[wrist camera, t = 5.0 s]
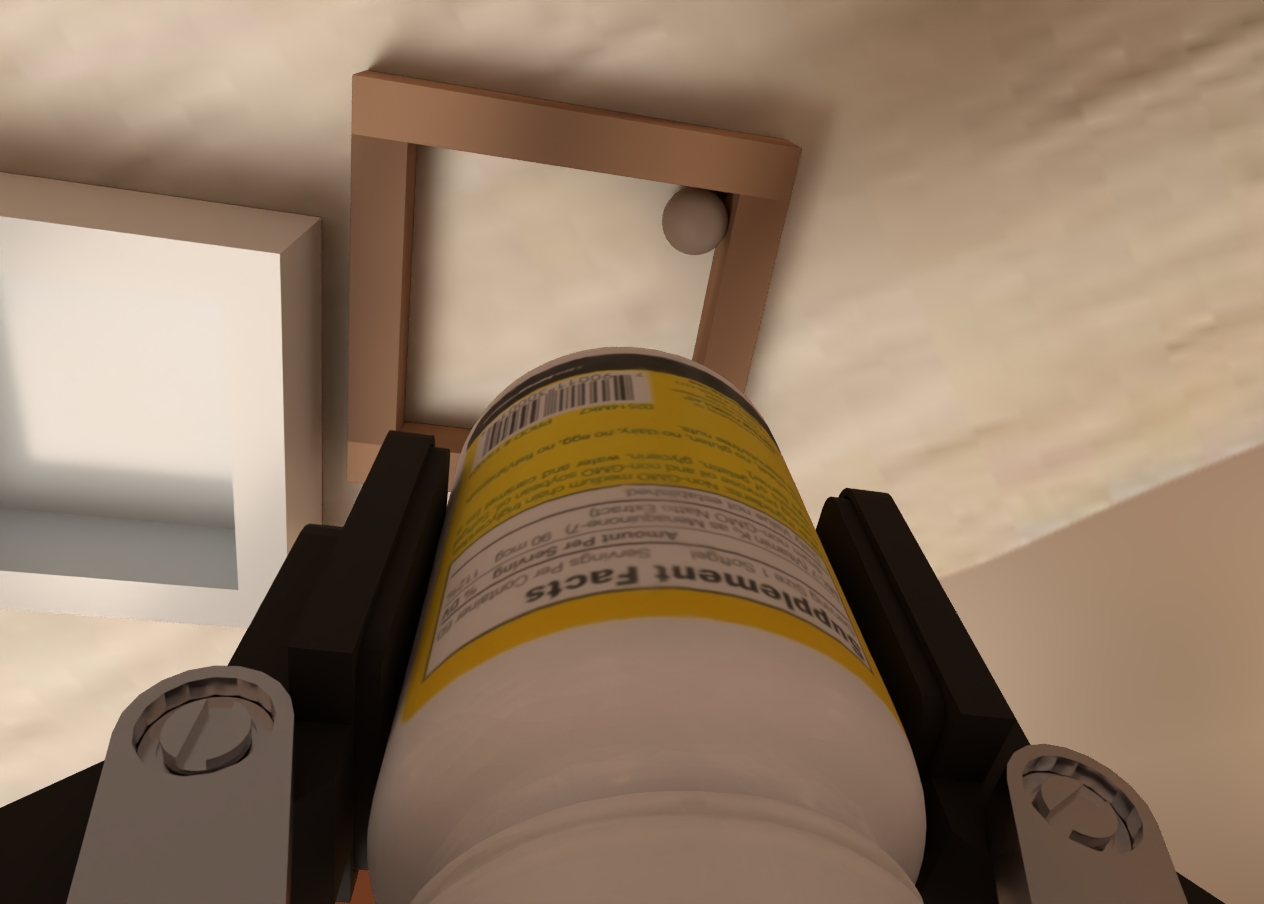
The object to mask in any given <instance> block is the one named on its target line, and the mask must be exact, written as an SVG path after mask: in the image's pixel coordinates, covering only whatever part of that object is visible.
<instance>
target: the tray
mask: <svg viewBox="0 0 1264 904" xmlns="http://www.w3.org/2000/svg"><path fill="white" fill-rule="evenodd" d="M417 144H420V145H427V146H433V147H440V148H446V149H453V150H459V151H465V152H472V153H478V154H485V155H491V156H497V157H504V158H510V159H517V160H523V161H530V162H536V163H542V164H549V165H555V166H562V167H568V168H575V169H581V170H587V171H594V172H600V173H607V174H613V175H619V176H626V177H632V178H639V179H645V180H652V181H658V182H664V183H671V184H677V185H684V186H690V188H686V189H683V190H681V191H679V192H678V193H676V194H675V195H674V196H673V197H672V198H671V199H670V200H669V202H668V203H667V205H666V207H665V209H664V212H663V217H662V225H663V231H664V234H665V236H666V238H667V240H668V241H669V243H670V244H671V245H672V246H673V247H674V248H675V249H677V250H678V251H680V252H683V253H685V254H690V255H699V254H704V253H707V252H709V251H711V250H712V249H714V248H715V252H714V257H713V262H712V267H711V272H710V277H709V281H708V286H707V291H706V296H705V301H704V306H703V311H702V315H701V320H700V325H699V330H698V335H697V340H696V345H695V349H694V354H693V359H692V361H695V362H697V363H699V364H701V365H703V366H705V367H707V368H709V369H711V370H712V371H714V372H716V373H717V374H719V375H720V376H722V377H723V378H725V379H726V380H727V381H729V382H730V383H732V384H733V385H734V386H735V387H736V388H737V389H738V390H739V391H740V392H742V393H743V394H744V389H745V385H746V381H747V377H748V373H749V369H750V364H751V360H752V356H753V352H754V348H755V343H756V339H757V335H758V331H759V327H760V323H761V318H762V314H763V310H764V306H765V302H766V297H767V293H768V289H769V285H770V281H771V277H772V272H773V268H774V264H775V260H776V256H777V251H778V247H779V243H780V239H781V235H782V231H783V226H784V222H785V218H786V214H787V210H788V205H789V201H790V197H791V193H792V189H793V185H794V180H795V176H796V172H797V168H798V164H799V159H800V155H801V151H802V149H801V148H800V147H798V146H796V145H794V144H793V143H791V142H789V141H788V140H784V139H778V138H772V137H766V136H760V135H754V134H748V133H742V132H736V131H730V130H724V129H718V128H712V127H706V126H700V125H694V124H688V123H682V122H675V121H669V120H663V119H657V118H651V117H645V116H639V115H633V114H627V113H621V112H615V111H609V110H603V109H597V108H591V107H585V106H579V105H573V104H567V103H561V102H555V101H549V100H543V99H537V98H531V97H525V96H519V95H513V94H507V93H501V92H495V91H489V90H483V89H477V88H471V87H465V86H459V85H453V84H447V83H441V82H435V81H429V80H423V79H417V78H411V77H405V76H399V75H393V74H386V73H380V72H374V71H368V70H366V71H362V72H359V73H356V74H353V75H352V138H351V212H350V286H349V361H348V435H347V482H356V483H364V482H365V480H366V478H367V476H368V474H369V472H370V469H371V467H372V465H373V463H374V461H375V459H376V457H377V455H378V452H379V450H380V448H381V446H382V444H383V442H384V440H385V437H386V435H387V433H388V432H389V430H394V431H402V432H410V433H418V434H426V435H434V437H435V447H439V448H447V449H450V467H449V481H448V492H451V490H452V485H453V481H454V477H455V473H456V468H457V464H458V461H459V458H460V455H461V451H462V449H463V446H464V444H465V442H466V440H467V438H468V436H469V434H470V432H471V430H472V429H464V428H455V427H446V426H437V425H428V424H419V423H410V422H404V416H405V394H406V373H407V351H408V329H409V308H410V286H411V264H412V243H413V221H414V200H415V178H416V156H417ZM708 189H709V190H708ZM710 190H716V191H722V192H727V194H726V199H725V204H724V203H723V202H722V200H721V199H720V198H719V197H718V196H717V195H716V194H715V193H714V192H712V191H710Z"/></svg>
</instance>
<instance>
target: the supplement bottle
mask: <svg viewBox="0 0 1264 904" xmlns="http://www.w3.org/2000/svg"><path fill="white" fill-rule="evenodd" d="M925 839H926V812H925V802H924V793H923V788H922V784H921V781H920V777H919V773H918V769H917V766H916V763H915V759H914V756H913V753H912V749H911V746H910V743H909V741H908V738H907V736H906V733H905V731H904V728H903V726H902V723H901V721H900V719H899V716H898V714H897V712H896V709H895V707H894V705H893V703H892V700H891V698H890V696H889V693H888V691H887V689H886V687H885V685H884V682H883V680H882V678H881V676H880V673H879V671H878V669H877V667H876V665H875V663H874V660H873V658H872V656H871V654H870V652H869V650H868V647H867V645H866V643H865V641H864V639H863V636H862V634H861V632H860V630H859V627H858V625H857V623H856V621H855V618H854V616H853V614H852V612H851V609H850V607H849V605H848V603H847V600H846V598H845V596H844V593H843V591H842V589H841V587H840V584H839V582H838V580H837V578H836V575H835V573H834V571H833V569H832V566H831V564H830V562H829V560H828V557H827V555H826V553H825V550H824V548H823V546H822V544H821V541H820V539H819V537H818V535H817V532H816V530H815V528H814V526H813V524H812V521H811V519H810V517H809V515H808V512H807V510H806V508H805V506H804V503H803V501H802V499H801V496H800V494H799V492H798V490H797V487H796V485H795V483H794V481H793V479H792V476H791V474H790V472H789V470H788V468H787V465H786V463H785V461H784V459H783V456H782V455H781V452H780V450H779V447H778V445H777V443H776V441H775V439H774V437H773V435H772V433H771V431H770V429H769V427H768V426H767V424H766V422H765V421H764V419H763V418H762V416H761V414H760V413H759V412H758V411H757V409H756V408H755V407H754V405H753V404H752V403H751V402H750V401H749V399H748V398H747V397H746V396H745V395H744V394H743V393H742V392H740V391H739V390H738V389H737V388H736V387H735V386H734V385H733V384H732V383H730V382H729V381H727V380H726V379H725V378H723V377H722V376H720V375H719V374H717V373H716V372H714V371H712V370H711V369H709V368H707V367H705V366H703V365H701V364H699V363H697V362H695V361H692V360H689V359H687V358H684V357H681V356H678V355H674V354H670V353H666V352H662V351H658V350H652V349H645V348H634V347H603V348H597V349H590V350H585V351H580V352H576V353H572V354H569V355H566V356H563V357H560V358H557V359H554V360H552V361H549V362H547V363H545V364H543V365H541V366H539V367H537V368H535V369H533V370H531V371H530V372H528V373H526V374H525V375H523V376H522V377H520V378H519V379H517V380H516V381H514V382H513V383H512V384H511V385H509V386H508V387H507V388H506V389H505V390H504V391H503V392H501V393H500V394H499V395H498V396H497V397H496V398H495V399H494V400H493V401H492V402H491V404H490V405H489V406H488V407H487V408H486V409H485V411H484V412H483V413H482V415H481V416H480V418H479V419H478V420H477V422H476V423H475V425H474V426H473V428H472V430H471V432H470V434H469V436H468V438H467V440H466V442H465V444H464V446H463V449H462V451H461V455H460V458H459V461H458V464H457V468H456V473H455V477H454V481H453V485H452V490H451V493H450V497H449V501H448V504H447V510H446V514H445V518H444V522H443V526H442V530H441V533H440V537H439V541H438V545H437V549H436V553H435V558H434V562H433V567H432V571H431V575H430V579H429V583H428V586H427V590H426V594H425V598H424V602H423V607H422V611H421V615H420V619H419V623H418V627H417V631H416V635H415V639H414V643H413V646H412V650H411V654H410V658H409V661H408V665H407V669H406V673H405V677H404V681H403V684H402V688H401V692H400V696H399V700H398V704H397V708H396V712H395V715H394V719H393V723H392V727H391V731H390V735H389V738H388V742H387V746H386V750H385V754H384V758H383V762H382V765H381V769H380V773H379V777H378V781H377V784H376V788H375V792H374V796H373V801H372V807H371V812H370V818H369V824H368V832H367V863H368V871H369V876H370V882H371V887H372V892H373V895H374V899H375V902H376V904H924V903H923V900H922V897H921V895H920V894H919V892H918V890H917V889H916V887H915V884H916V881H917V878H918V875H919V872H920V868H921V864H922V860H923V855H924V848H925Z"/></svg>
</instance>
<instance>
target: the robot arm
mask: <svg viewBox="0 0 1264 904" xmlns="http://www.w3.org/2000/svg"><path fill="white" fill-rule="evenodd" d="M449 467H450V449H447V448H439V447H435V437H434V435H426V434H418V433H410V432H402V431H394V430H389V432H388V433H387V435H386V437H385V440H384V442H383V444H382V446H381V448H380V450H379V452H378V455H377V457H376V459H375V461H374V463H373V465H372V467H371V469H370V472H369V474H368V476H367V478H366V480H365V482H364V484H363V487H362V489H361V491H360V493H359V495H358V497H357V499H356V501H355V504H354V506H353V508H352V510H351V512H350V514H349V516H348V519H347V521H346V523H345V525H344V527H337V526H328V525H319V524H311V523H309V524H307V525H305V526H304V528H303V529H302V530H301V532H300V533H299V535H298V537H297V539H296V541H295V542H294V544H293V546H292V548H291V550H290V552H289V554H288V555H287V557H286V559H285V561H284V563H283V565H282V566H281V568H280V570H279V572H278V574H277V576H276V577H275V579H274V581H273V583H272V585H271V587H270V589H269V590H268V592H267V594H266V596H265V598H264V600H263V601H262V603H261V605H260V607H259V609H258V611H257V613H256V614H255V616H254V618H253V620H252V622H251V624H250V625H249V627H248V629H247V631H246V633H245V635H244V636H243V638H242V640H241V642H240V644H239V646H238V648H237V649H236V651H235V653H234V655H233V657H232V659H231V660H230V662H229V664H228V666H210V667H205V668H199V669H193V670H188V671H185V672H183V673H180V674H177V675H175V676H172V677H170V678H167V679H164V680H162V681H160V682H159V683H157V684H156V685H154V686H152V687H151V688H149V689H148V690H146V691H145V692H143V693H141V694H140V695H139V696H138V697H137V698H136V699H135V700H134V701H133V702H132V703H131V704H130V705H129V706H128V707H127V708H126V709H125V710H124V711H123V712H122V714H121V716H120V718H119V720H118V722H117V724H116V726H115V728H114V730H113V732H112V735H111V739H110V743H109V746H108V750H107V754H106V758H105V760H104V761H102V762H100V763H98V764H96V765H93V766H91V767H89V768H87V769H85V770H82V771H80V772H78V773H76V774H74V775H71V776H69V777H67V778H65V779H63V780H60V781H58V782H56V783H54V784H52V785H50V786H47V787H45V788H43V789H41V790H39V791H36V792H34V793H32V794H30V795H28V796H25V797H23V798H21V799H19V800H17V801H14V802H12V803H10V804H8V805H6V806H3V807H1V808H0V904H335V902H347V903H350V901H351V897H352V894H353V890H354V886H355V883H356V879H357V875H358V871H359V870H368V863H367V832H368V824H369V818H370V812H371V807H372V801H373V796H374V792H375V788H376V784H377V781H378V777H379V773H380V769H381V765H382V762H383V758H384V754H385V750H386V746H387V742H388V738H389V735H390V731H391V727H392V723H393V719H394V715H395V712H396V708H397V704H398V700H399V696H400V692H401V688H402V684H403V681H404V677H405V673H406V669H407V665H408V661H409V658H410V654H411V650H412V646H413V643H414V639H415V635H416V631H417V627H418V623H419V619H420V615H421V611H422V607H423V602H424V598H425V594H426V590H427V586H428V583H429V579H430V575H431V571H432V567H433V562H434V558H435V553H436V549H437V545H438V541H439V537H440V533H441V530H442V526H443V522H444V518H445V514H446V510H447V495H448V481H449ZM816 532H817V535H818V537H819V539H820V541H821V544H822V546H823V548H824V550H825V553H826V555H827V557H828V560H829V562H830V564H831V566H832V569H833V571H834V573H835V575H836V578H837V580H838V582H839V584H840V587H841V589H842V591H843V593H844V596H845V598H846V600H847V603H848V605H849V607H850V609H851V612H852V614H853V616H854V618H855V621H856V623H857V625H858V627H859V630H860V632H861V634H862V636H863V639H864V641H865V643H866V645H867V647H868V650H869V652H870V654H871V656H872V658H873V660H874V663H875V665H876V667H877V669H878V671H879V673H880V676H881V678H882V680H883V682H884V685H885V687H886V689H887V691H888V693H889V696H890V698H891V700H892V703H893V705H894V707H895V709H896V712H897V714H898V716H899V719H900V721H901V723H902V726H903V728H904V731H905V733H906V736H907V738H908V741H909V743H910V746H911V749H912V753H913V756H914V759H915V763H916V766H917V769H918V773H919V777H920V781H921V784H922V788H923V793H924V802H925V812H926V839H925V848H924V855H923V860H922V864H921V868H920V872H919V875H918V878H917V881H916V884H915V887H916V889H917V890H918V892H919V894H920V895H921V897H922V900H923V903H924V904H1225V903H1223V902H1222V901H1220V900H1219V899H1217V898H1216V897H1214V896H1213V895H1211V894H1210V893H1208V892H1206V891H1205V890H1203V889H1202V888H1200V887H1199V886H1197V885H1196V884H1194V883H1193V882H1191V881H1190V880H1188V879H1186V878H1185V877H1184V876H1182V875H1180V874H1179V873H1178V872H1176V871H1175V868H1174V866H1173V863H1172V860H1171V858H1170V855H1169V852H1168V850H1167V847H1166V844H1165V842H1164V839H1163V837H1162V834H1161V831H1160V829H1159V826H1158V823H1157V822H1156V820H1155V818H1154V816H1153V814H1152V813H1151V811H1150V809H1149V807H1148V805H1147V804H1146V803H1145V802H1144V800H1143V799H1142V798H1141V797H1140V796H1139V795H1138V794H1137V792H1136V791H1135V790H1134V789H1133V788H1132V787H1131V786H1130V785H1129V784H1128V783H1126V782H1125V781H1124V780H1123V779H1122V778H1121V777H1119V776H1118V775H1117V774H1116V773H1114V772H1113V771H1112V770H1111V769H1109V768H1107V767H1106V766H1104V765H1102V764H1100V763H1099V762H1097V761H1095V760H1094V759H1092V758H1090V757H1089V756H1086V755H1084V754H1081V753H1078V752H1076V751H1073V750H1070V749H1068V748H1064V747H1059V746H1054V745H1048V744H1038V745H1030V743H1029V742H1028V739H1027V738H1026V736H1025V735H1024V732H1023V731H1022V729H1021V727H1020V725H1019V724H1018V722H1017V720H1016V718H1015V716H1014V714H1013V713H1012V711H1011V709H1010V707H1009V706H1008V704H1007V702H1006V700H1005V698H1004V697H1003V695H1002V693H1001V691H1000V689H999V688H998V686H997V684H996V682H995V680H994V679H993V677H992V675H991V673H990V672H989V670H988V668H987V666H986V664H985V663H984V661H983V659H982V657H981V655H980V654H979V652H978V650H977V648H976V647H975V645H974V643H973V641H972V639H971V638H970V636H969V634H968V632H967V630H966V629H965V627H964V625H963V623H962V622H961V620H960V618H959V616H958V614H957V613H956V611H955V609H954V607H953V605H952V604H951V602H950V600H949V598H948V597H947V595H946V593H945V591H944V590H943V588H942V586H941V584H940V582H939V580H938V579H937V577H936V575H935V573H934V572H933V570H932V568H931V566H930V564H929V563H928V561H927V559H926V557H925V555H924V554H923V552H922V550H921V548H920V547H919V545H918V543H917V541H916V539H915V538H914V536H913V534H912V532H911V530H910V529H909V527H908V525H907V523H906V522H905V520H904V518H903V516H902V514H901V513H900V511H899V509H898V507H897V505H896V504H895V502H894V500H893V498H892V497H891V496H890V495H889V494H888V493H882V492H874V491H867V490H859V489H851V488H846V489H844V490H843V491H842V492H841V493H840V495H839V497H838V498H837V497H829V498H828V499H827V500H826V502H825V504H824V506H823V509H822V512H821V515H820V518H819V521H818V525H817V528H816Z"/></svg>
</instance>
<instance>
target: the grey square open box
mask: <svg viewBox="0 0 1264 904" xmlns="http://www.w3.org/2000/svg"><path fill="white" fill-rule="evenodd" d="M309 523H311V524H319V525H322V238H321V217H314V216H307V215H300V214H293V213H286V212H279V211H272V210H265V209H258V208H251V207H244V206H237V205H230V204H223V203H216V202H208V201H201V200H194V199H187V198H180V197H173V196H166V195H159V194H152V193H145V192H138V191H131V190H124V189H117V188H110V187H103V186H96V185H89V184H82V183H75V182H68V181H60V180H53V179H46V178H39V177H32V176H25V175H18V174H11V173H4V172H0V609H3V610H16V611H29V612H42V613H55V614H68V615H81V616H94V617H107V618H120V619H133V620H146V621H159V622H172V623H185V624H198V625H211V626H224V627H237V628H248V627H249V625H250V624H251V622H252V620H253V618H254V616H255V614H256V613H257V611H258V609H259V607H260V605H261V603H262V601H263V600H264V598H265V596H266V594H267V592H268V590H269V589H270V587H271V585H272V583H273V581H274V579H275V577H276V576H277V574H278V572H279V570H280V568H281V566H282V565H283V563H284V561H285V559H286V557H287V555H288V554H289V552H290V550H291V548H292V546H293V544H294V542H295V541H296V539H297V537H298V535H299V533H300V532H301V530H302V529H303V528H304V526H305V525H307V524H309Z"/></svg>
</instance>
